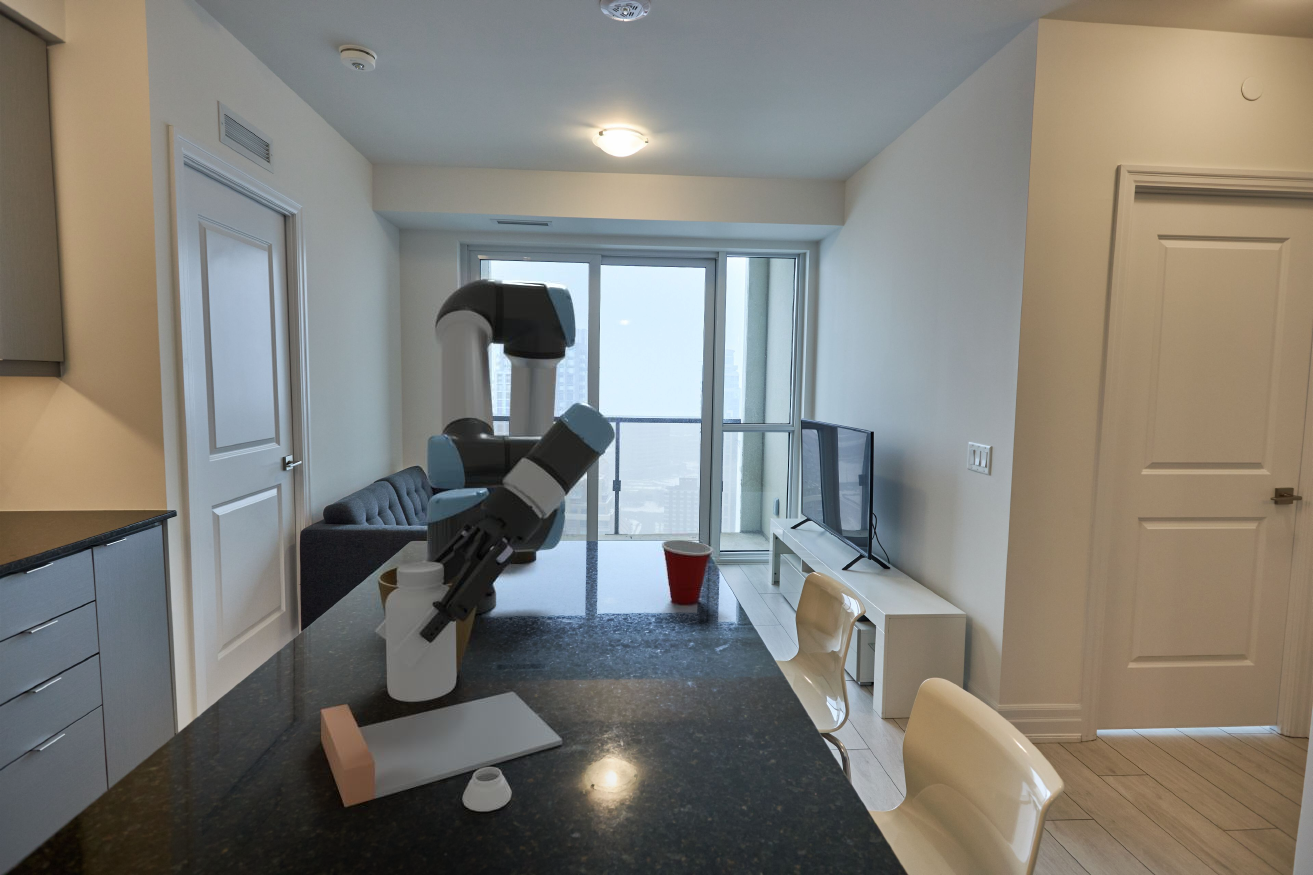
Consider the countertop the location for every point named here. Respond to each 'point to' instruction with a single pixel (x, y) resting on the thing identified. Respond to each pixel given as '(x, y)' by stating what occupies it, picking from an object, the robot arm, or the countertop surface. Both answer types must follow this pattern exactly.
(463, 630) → the plant pot
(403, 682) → the pill bottle
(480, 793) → the lidless jar
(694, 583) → the plastic cup
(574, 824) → the countertop surface
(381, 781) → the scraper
